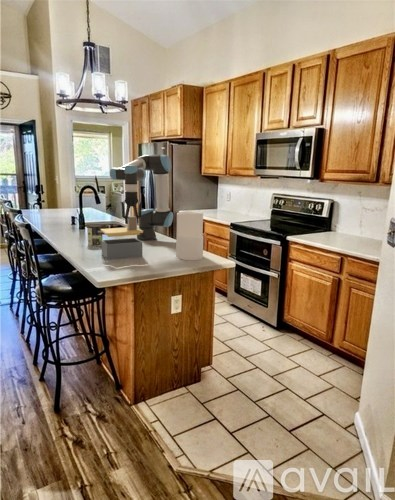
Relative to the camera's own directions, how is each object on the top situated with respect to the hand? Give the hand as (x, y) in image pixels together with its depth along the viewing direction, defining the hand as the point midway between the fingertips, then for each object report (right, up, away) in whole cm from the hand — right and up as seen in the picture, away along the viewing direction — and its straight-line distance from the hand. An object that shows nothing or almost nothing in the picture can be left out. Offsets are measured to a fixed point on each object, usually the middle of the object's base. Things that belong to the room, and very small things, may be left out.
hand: (131, 228), depth 222 cm
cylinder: (+36, -18, +6) cm, 41 cm away
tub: (-6, -18, +1) cm, 19 cm away
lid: (-6, -3, -2) cm, 7 cm away
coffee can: (-32, -10, +31) cm, 45 cm away
